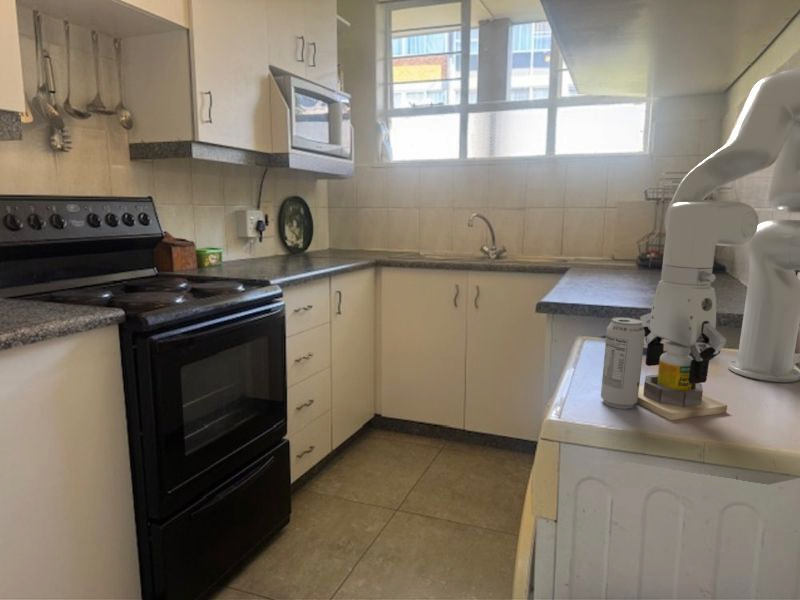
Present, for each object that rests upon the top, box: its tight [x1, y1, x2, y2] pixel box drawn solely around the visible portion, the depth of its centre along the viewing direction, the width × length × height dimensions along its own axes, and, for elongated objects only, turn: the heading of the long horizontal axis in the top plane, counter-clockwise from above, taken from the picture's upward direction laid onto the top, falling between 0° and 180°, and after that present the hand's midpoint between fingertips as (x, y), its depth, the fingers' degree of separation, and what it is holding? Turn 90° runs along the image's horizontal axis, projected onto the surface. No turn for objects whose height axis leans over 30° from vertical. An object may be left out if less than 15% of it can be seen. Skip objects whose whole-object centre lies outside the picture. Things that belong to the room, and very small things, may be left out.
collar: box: [636, 374, 728, 421], centre depth 96 cm, size 12×12×4 cm
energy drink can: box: [600, 316, 646, 410], centre depth 94 cm, size 6×6×15 cm
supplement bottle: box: [657, 340, 694, 391], centre depth 95 cm, size 5×5×10 cm
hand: (674, 373), depth 95 cm, fingers open, 9 cm apart
